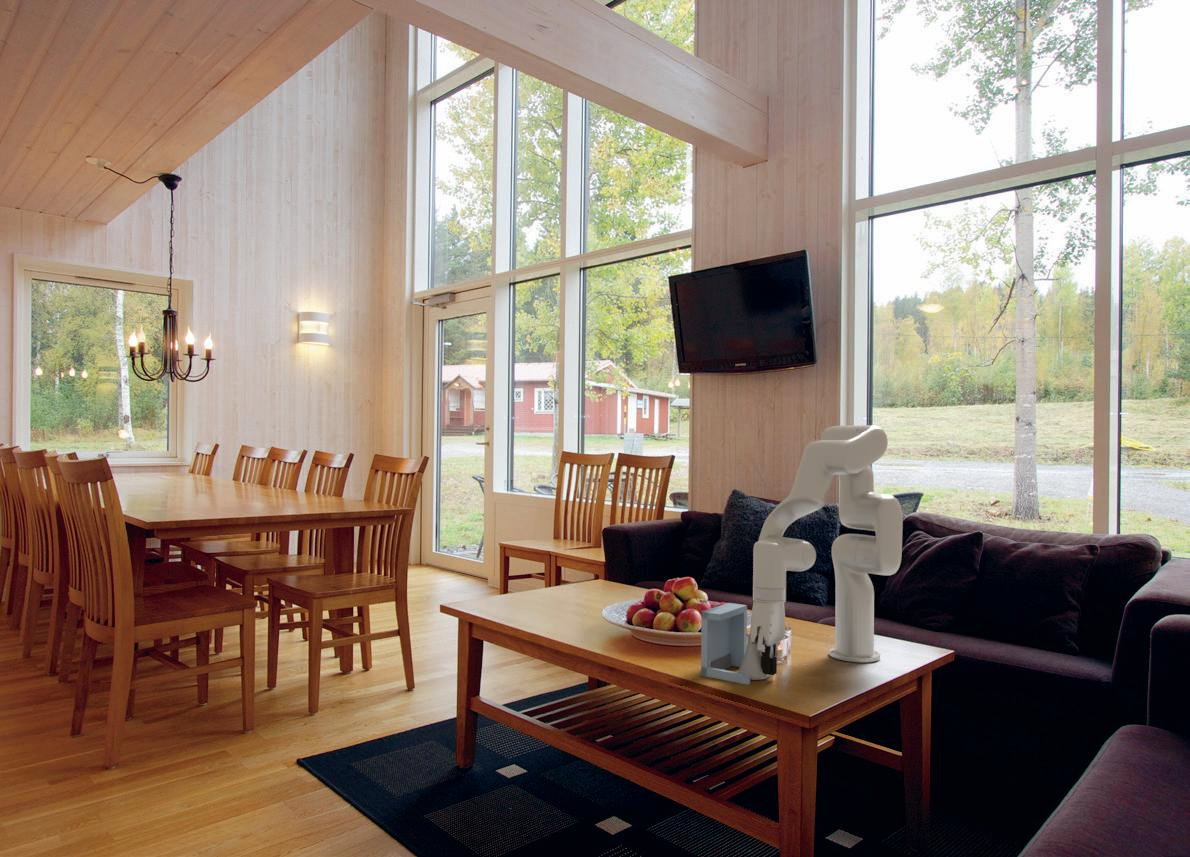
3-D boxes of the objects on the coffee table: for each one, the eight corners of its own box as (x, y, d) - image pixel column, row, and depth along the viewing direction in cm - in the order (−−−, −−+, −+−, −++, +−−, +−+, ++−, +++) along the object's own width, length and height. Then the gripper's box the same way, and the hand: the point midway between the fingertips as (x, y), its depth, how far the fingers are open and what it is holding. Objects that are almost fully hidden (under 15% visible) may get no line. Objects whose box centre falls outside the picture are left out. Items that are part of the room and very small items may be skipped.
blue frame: (728, 663, 203) (728, 602, 203) (773, 671, 196) (773, 608, 196) (701, 675, 191) (701, 611, 192) (747, 684, 184) (748, 618, 185)
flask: (775, 677, 191) (776, 634, 191) (754, 682, 186) (754, 638, 186) (752, 670, 196) (753, 629, 197) (731, 675, 192) (732, 632, 192)
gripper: (767, 588, 197) (766, 664, 197) (740, 597, 185) (740, 678, 185) (796, 591, 193) (796, 669, 193) (771, 600, 181) (771, 683, 181)
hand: (768, 673), depth 189 cm, fingers closed
